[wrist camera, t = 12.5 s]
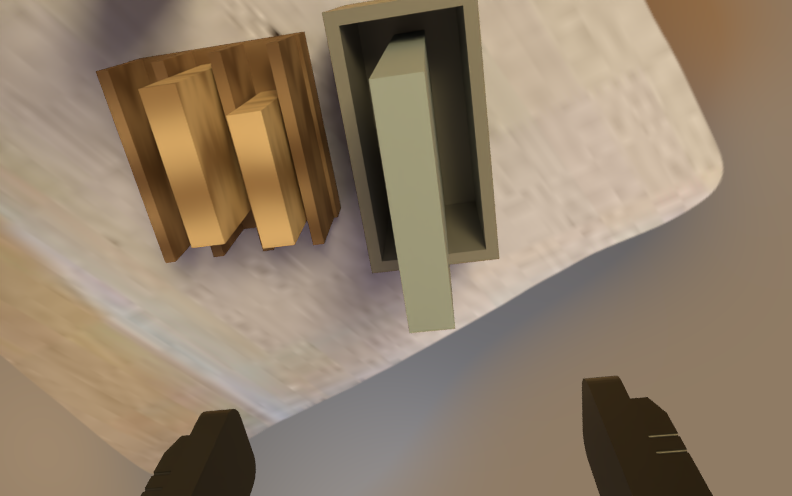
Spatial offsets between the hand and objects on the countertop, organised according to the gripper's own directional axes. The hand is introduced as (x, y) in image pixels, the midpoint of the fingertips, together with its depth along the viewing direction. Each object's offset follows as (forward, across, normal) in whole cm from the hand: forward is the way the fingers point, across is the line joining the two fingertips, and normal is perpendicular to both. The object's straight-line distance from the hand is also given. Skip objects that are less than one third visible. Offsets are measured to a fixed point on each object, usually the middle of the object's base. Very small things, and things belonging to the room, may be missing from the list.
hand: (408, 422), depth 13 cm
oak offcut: (+32, +14, -1) cm, 35 cm away
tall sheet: (+33, 0, 0) cm, 33 cm away
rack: (+34, +14, 0) cm, 37 cm away
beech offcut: (+32, +10, +1) cm, 33 cm away
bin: (+34, 0, 0) cm, 34 cm away
